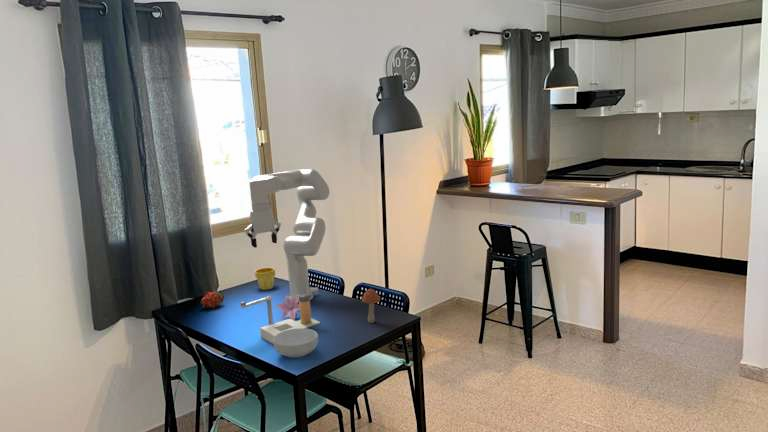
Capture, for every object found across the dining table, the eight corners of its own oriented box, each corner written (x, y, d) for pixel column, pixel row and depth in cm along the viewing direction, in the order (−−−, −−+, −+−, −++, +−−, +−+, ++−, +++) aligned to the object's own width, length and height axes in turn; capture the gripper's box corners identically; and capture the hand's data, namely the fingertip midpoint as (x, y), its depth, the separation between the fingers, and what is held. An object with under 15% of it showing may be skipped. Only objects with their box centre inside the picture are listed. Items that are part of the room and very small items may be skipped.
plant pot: (253, 291, 308) (251, 273, 306) (260, 285, 318) (259, 267, 316) (272, 290, 306) (270, 272, 304) (279, 284, 316) (277, 267, 315)
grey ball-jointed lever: (269, 297, 251) (268, 292, 251) (273, 299, 249) (272, 294, 249) (239, 307, 241) (239, 302, 241) (243, 308, 239) (243, 303, 239)
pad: (309, 318, 262) (309, 317, 262) (320, 323, 255) (320, 322, 255) (291, 323, 257) (291, 322, 257) (302, 329, 250) (302, 327, 250)
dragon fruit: (227, 307, 289) (203, 316, 284) (220, 294, 294) (197, 303, 288) (226, 297, 283) (202, 306, 278) (220, 284, 288) (195, 293, 282)
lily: (275, 317, 270) (270, 303, 264) (295, 301, 275) (290, 287, 269) (292, 330, 263) (286, 316, 256) (312, 314, 268) (307, 300, 262)
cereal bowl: (280, 367, 215) (278, 348, 213) (270, 350, 230) (268, 333, 228) (325, 356, 221) (323, 338, 220) (312, 341, 236) (310, 324, 235)
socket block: (284, 324, 257) (281, 295, 255) (307, 336, 242) (305, 305, 239) (254, 333, 249) (251, 303, 246) (277, 346, 233) (274, 314, 231)
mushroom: (384, 319, 256) (382, 285, 253) (378, 326, 248) (375, 291, 245) (367, 318, 258) (364, 285, 255) (360, 324, 251) (358, 290, 248)
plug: (307, 319, 259) (305, 293, 257) (313, 322, 256) (311, 295, 253) (298, 322, 256) (296, 295, 254) (304, 325, 253) (302, 298, 251)
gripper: (274, 203, 267) (277, 240, 270) (238, 209, 257) (242, 247, 260) (282, 204, 261) (286, 242, 264) (246, 210, 251) (250, 250, 254)
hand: (264, 244), depth 262 cm, fingers open, 9 cm apart
